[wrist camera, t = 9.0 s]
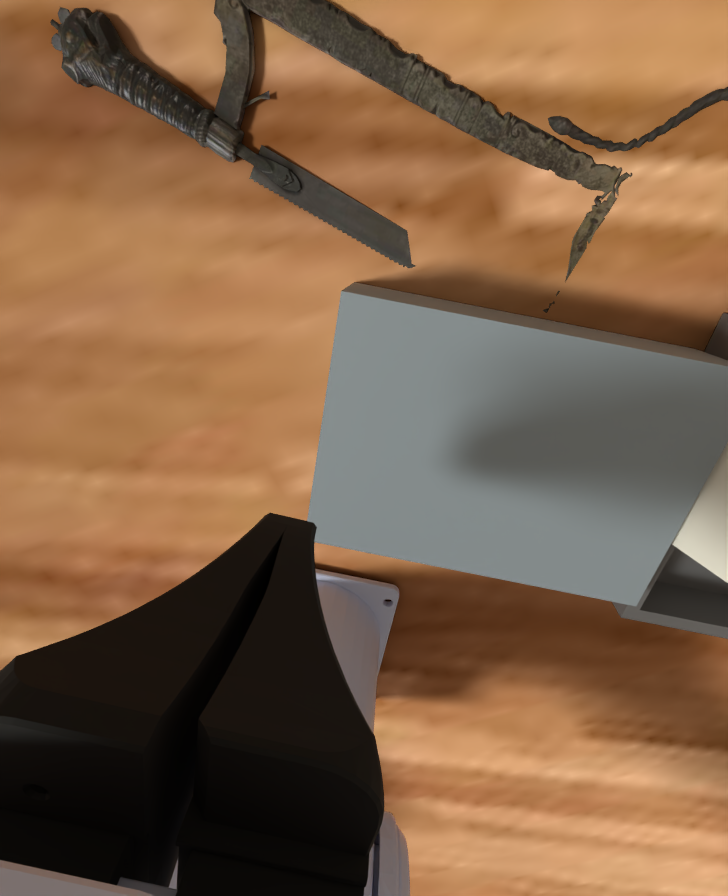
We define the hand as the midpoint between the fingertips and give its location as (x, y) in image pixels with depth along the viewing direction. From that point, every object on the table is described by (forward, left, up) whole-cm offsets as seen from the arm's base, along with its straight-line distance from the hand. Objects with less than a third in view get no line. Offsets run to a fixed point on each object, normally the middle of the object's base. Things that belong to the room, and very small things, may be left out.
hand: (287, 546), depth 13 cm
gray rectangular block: (+1, -7, -9) cm, 12 cm away
